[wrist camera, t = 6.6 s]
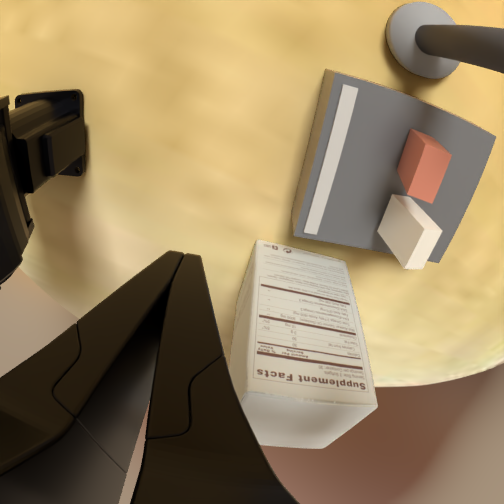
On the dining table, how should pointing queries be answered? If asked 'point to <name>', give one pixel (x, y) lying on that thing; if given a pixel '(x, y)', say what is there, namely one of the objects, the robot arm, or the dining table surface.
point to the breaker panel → (379, 163)
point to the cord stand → (440, 41)
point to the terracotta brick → (422, 166)
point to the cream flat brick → (408, 232)
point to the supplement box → (299, 349)
